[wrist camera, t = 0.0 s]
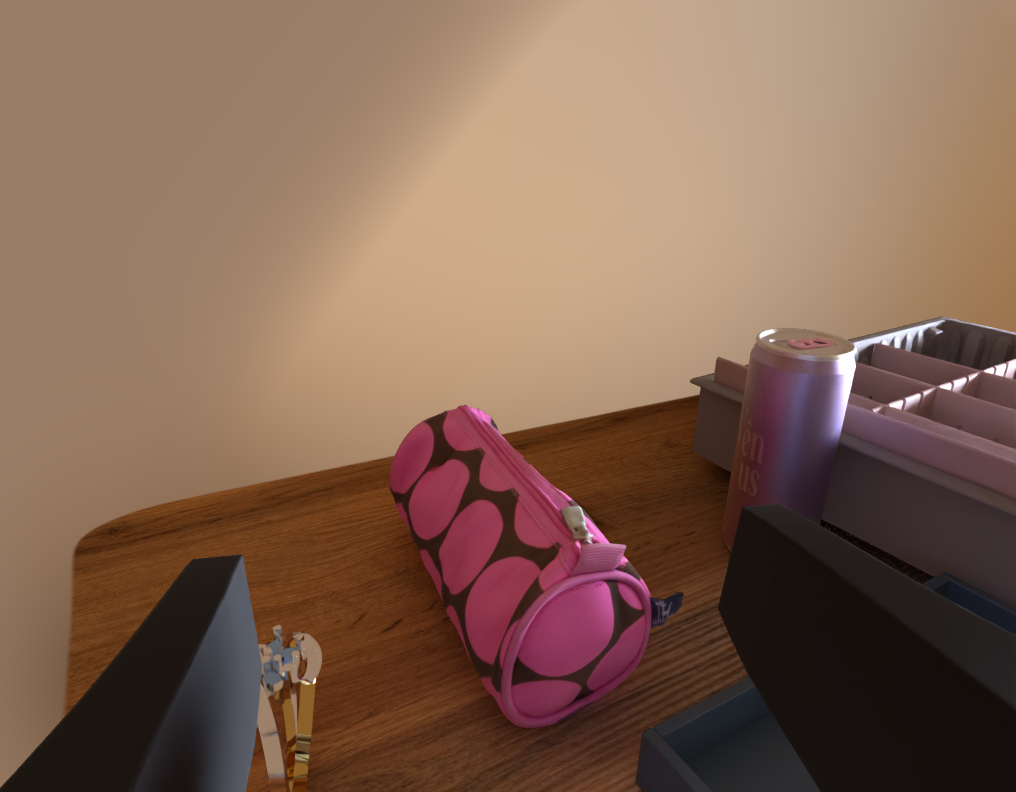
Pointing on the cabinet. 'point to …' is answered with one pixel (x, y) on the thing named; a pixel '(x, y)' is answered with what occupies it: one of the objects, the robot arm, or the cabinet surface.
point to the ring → (288, 707)
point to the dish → (756, 728)
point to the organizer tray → (913, 448)
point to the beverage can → (789, 423)
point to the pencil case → (521, 570)
